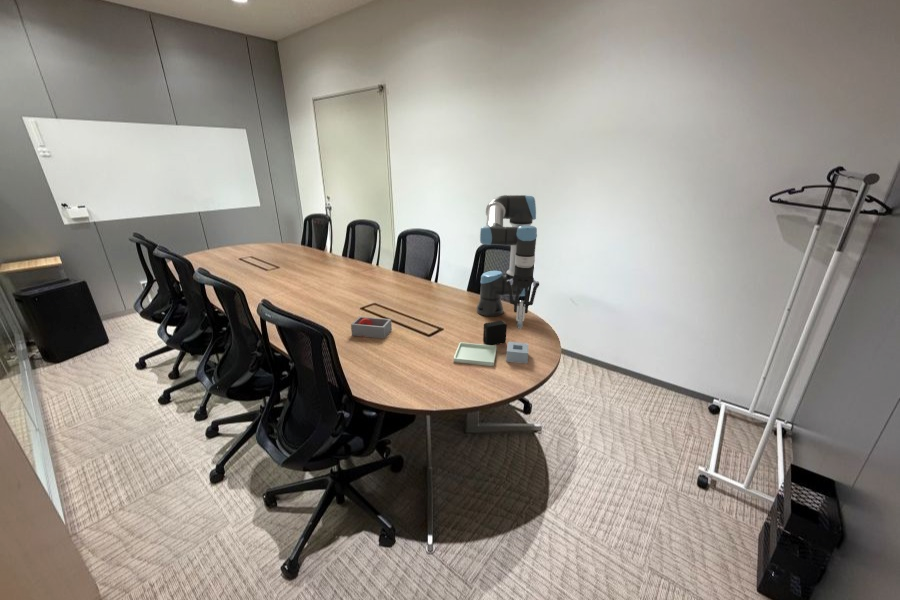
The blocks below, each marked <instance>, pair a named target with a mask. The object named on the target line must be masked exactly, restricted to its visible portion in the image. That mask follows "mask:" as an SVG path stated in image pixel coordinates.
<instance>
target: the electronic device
mask: <svg viewBox="0 0 900 600" xmlns="http://www.w3.org/2000/svg"><path fill="white" fill-rule="evenodd" d="M507 329H508V325H507V323H506V322H505V321H503V320H498V321H497V320H495V321H491V322H485V323H484V324H483V334H482V341H483V343H484V345H494V346H496V345H495V344H497V345H501V344H500V343H502V344H505V343H506V341H507Z"/></svg>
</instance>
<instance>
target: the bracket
mask: <svg viewBox="0 0 900 600" xmlns="http://www.w3.org/2000/svg"><path fill="white" fill-rule="evenodd" d="M364 323H367V325H372V322H371V321H370V320H369V319H367V318H365V319H362V320H361V321H360V322H359V324H362V325H363V324H364ZM361 337H362V338H365V337H364V336H363V335H362V336H361Z"/></svg>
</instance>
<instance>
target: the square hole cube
mask: <svg viewBox="0 0 900 600" xmlns="http://www.w3.org/2000/svg"><path fill="white" fill-rule="evenodd" d="M506 346H507V347H506V359H505V362H507V363H508V362H509V363H517V364H528V362H529V361H528V360H529V343H526V342H517V341H515V342H513V341H507V345H506Z"/></svg>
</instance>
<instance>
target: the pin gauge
mask: <svg viewBox="0 0 900 600" xmlns="http://www.w3.org/2000/svg"><path fill="white" fill-rule="evenodd" d="M517 304H518V305H519V312H518V321H516V329H518V330H522V329H523V324H524V321H522V317H523V306H524V304H525V300H522V299H521V300H518V303H517Z"/></svg>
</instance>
